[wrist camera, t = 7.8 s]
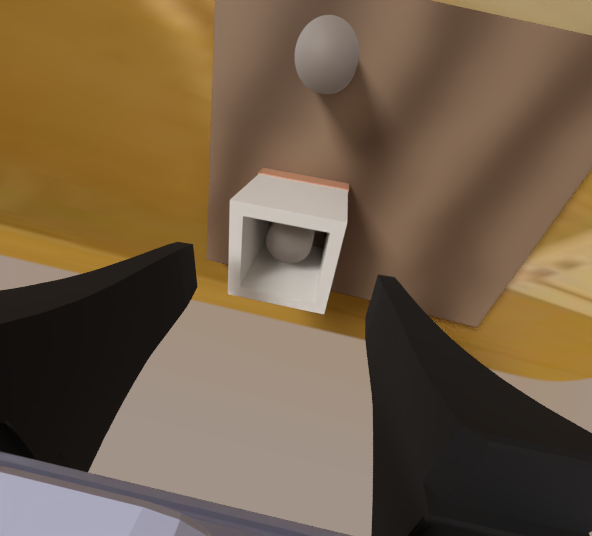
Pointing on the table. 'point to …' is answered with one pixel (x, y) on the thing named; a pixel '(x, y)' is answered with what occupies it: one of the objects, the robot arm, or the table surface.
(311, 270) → the sleeve
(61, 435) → the robot arm
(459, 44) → the pin board
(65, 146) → the table surface
